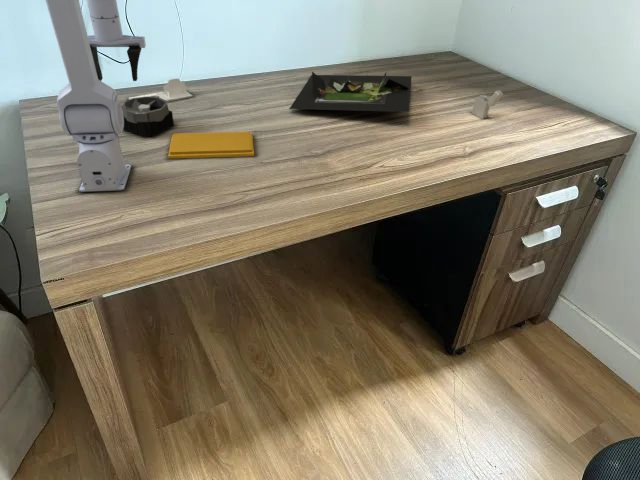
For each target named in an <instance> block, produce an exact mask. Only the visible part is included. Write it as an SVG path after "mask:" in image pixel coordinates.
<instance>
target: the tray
mask: <svg viewBox="0 0 640 480" xmlns="http://www.w3.org/2000/svg"><path fill="white" fill-rule="evenodd" d="M169 144H170V145H169V149H168V155H167V158H168V159H169V160H177V159H178V160H179V159H202V158H203V159H205V158H208V159H209V158H210V159H211V158H237V157H241V158H242V157H255V150H254V148H255V147H254V139H253V133H251V131H225V132H223V131H221V132H219V131H218V132H183V133H181V132H180V133H173V135H171V139H170V143H169Z"/></svg>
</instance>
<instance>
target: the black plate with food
mask: <svg viewBox="0 0 640 480" xmlns="http://www.w3.org/2000/svg"><path fill="white" fill-rule="evenodd" d="M412 77H413V76H412V75H387V72H384V75H358V74H357V75H354V74H353V75H351V74H349V75H348V74H345V75H344V74H343V75H341V74H316V73H315V72H314V71H311V75H310V76H309V78H308V80H306V83H305V84H304V85H303V87H302V88H301V90H300V92H299V94H298V95H297V96H296V98H295V99H294V101H293V102H292V104H291V105H290V107H289V110H314V111H315V110H318V111H319V110H320V111H322V110H323V111H324V110H325V111H356V112H358V111H359V112H360V111H361V112H394V113H395V112H397V113H398V112H399V113H400V112H401V113H409V111H410V102H411V91H412V90H411V89H412V79H413V78H412Z"/></svg>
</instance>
